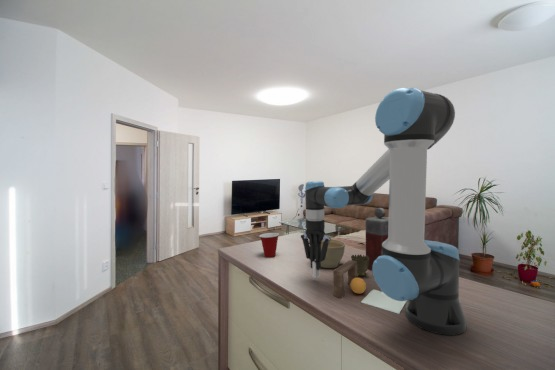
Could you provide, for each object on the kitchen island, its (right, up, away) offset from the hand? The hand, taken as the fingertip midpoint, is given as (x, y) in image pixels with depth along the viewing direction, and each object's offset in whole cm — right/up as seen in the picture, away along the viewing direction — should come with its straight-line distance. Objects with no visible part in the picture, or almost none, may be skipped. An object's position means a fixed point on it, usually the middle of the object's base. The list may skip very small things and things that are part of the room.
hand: (315, 276), depth 104 cm
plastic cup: (-20, -1, +34) cm, 40 cm away
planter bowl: (+9, -1, +19) cm, 21 cm away
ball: (+14, +1, -11) cm, 18 cm away
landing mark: (+21, -2, -17) cm, 27 cm away
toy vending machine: (+32, -1, +13) cm, 35 cm away
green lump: (+20, -2, +6) cm, 21 cm away
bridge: (+10, -2, -8) cm, 13 cm away
